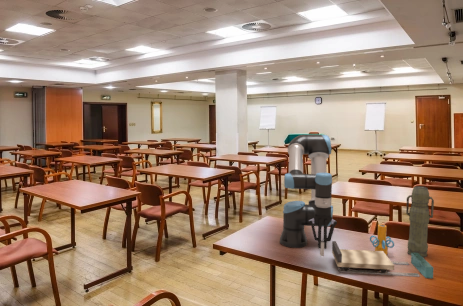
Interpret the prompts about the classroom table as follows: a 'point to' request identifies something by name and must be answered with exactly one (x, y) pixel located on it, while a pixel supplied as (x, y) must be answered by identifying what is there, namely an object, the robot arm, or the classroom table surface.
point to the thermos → (419, 220)
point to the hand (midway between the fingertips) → (321, 254)
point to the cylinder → (382, 240)
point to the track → (415, 260)
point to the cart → (361, 259)
